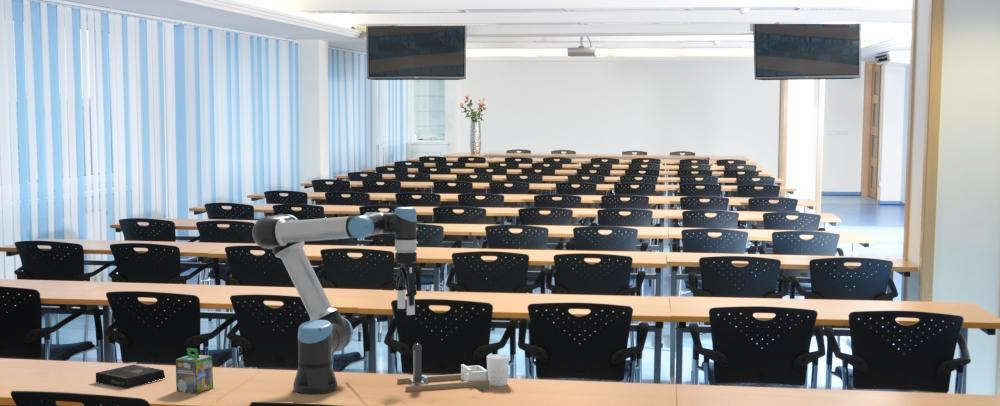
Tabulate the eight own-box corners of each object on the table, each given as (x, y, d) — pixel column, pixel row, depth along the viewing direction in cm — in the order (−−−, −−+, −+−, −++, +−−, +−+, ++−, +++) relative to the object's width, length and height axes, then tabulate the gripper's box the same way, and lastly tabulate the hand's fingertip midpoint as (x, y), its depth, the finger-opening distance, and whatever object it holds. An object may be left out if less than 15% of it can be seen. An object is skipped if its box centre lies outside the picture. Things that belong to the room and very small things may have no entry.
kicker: (414, 388, 382) (414, 345, 381) (409, 384, 389) (409, 342, 388) (428, 387, 384) (428, 344, 383) (423, 383, 391) (423, 341, 390)
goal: (469, 386, 387) (469, 370, 387) (460, 380, 397) (460, 364, 396) (488, 385, 389) (488, 368, 389) (479, 378, 399) (479, 363, 398)
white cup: (506, 387, 391) (506, 359, 390) (484, 386, 392) (484, 358, 392) (510, 382, 398) (510, 354, 398) (489, 381, 400) (489, 353, 399)
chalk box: (213, 388, 387) (213, 346, 386) (196, 394, 379) (195, 351, 378) (193, 385, 391) (192, 344, 390) (175, 391, 383) (174, 349, 382)
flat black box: (165, 380, 401) (164, 369, 401) (126, 389, 387) (126, 378, 386) (135, 374, 410) (134, 364, 410) (95, 383, 395) (95, 372, 395)
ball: (467, 385, 390) (463, 376, 390) (464, 383, 394) (460, 374, 393) (476, 381, 391) (472, 372, 391) (473, 379, 395) (469, 370, 394)
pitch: (406, 395, 378) (406, 386, 378) (397, 386, 391) (397, 378, 391) (489, 388, 388) (489, 380, 388) (478, 380, 400) (478, 372, 400)
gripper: (425, 255, 377) (425, 316, 378) (407, 247, 400) (407, 305, 402) (403, 255, 374) (404, 318, 376) (387, 248, 398) (387, 306, 399)
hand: (406, 311), depth 389 cm, fingers open, 13 cm apart
